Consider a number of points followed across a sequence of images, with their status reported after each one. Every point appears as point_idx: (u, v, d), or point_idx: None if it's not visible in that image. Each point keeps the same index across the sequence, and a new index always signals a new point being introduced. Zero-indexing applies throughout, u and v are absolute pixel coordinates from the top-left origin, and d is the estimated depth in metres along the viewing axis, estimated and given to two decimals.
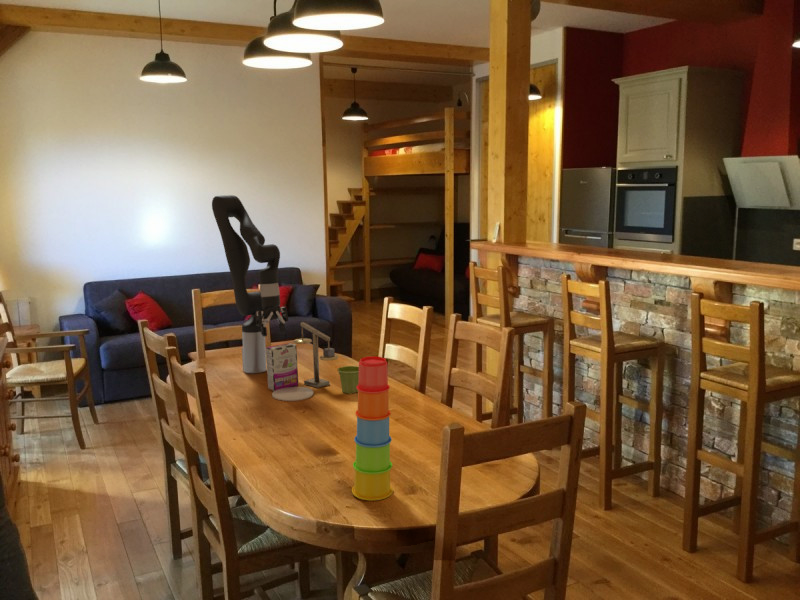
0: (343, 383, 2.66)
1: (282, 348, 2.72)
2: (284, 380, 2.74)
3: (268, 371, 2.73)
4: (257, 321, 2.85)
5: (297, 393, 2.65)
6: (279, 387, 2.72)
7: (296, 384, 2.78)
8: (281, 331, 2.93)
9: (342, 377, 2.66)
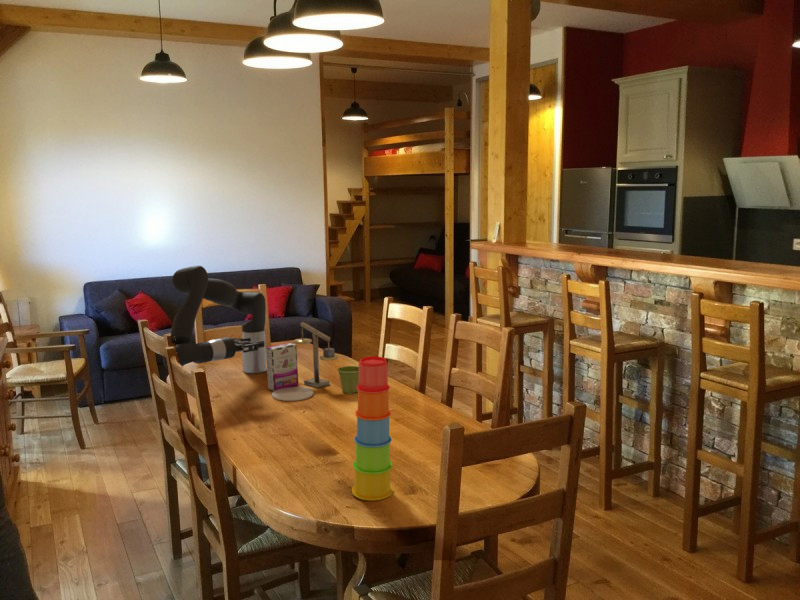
0: (343, 383, 2.66)
1: (282, 348, 2.72)
2: (284, 380, 2.74)
3: (268, 371, 2.73)
4: None
5: (297, 393, 2.65)
6: (279, 387, 2.72)
7: (296, 384, 2.78)
8: None
9: (342, 377, 2.66)
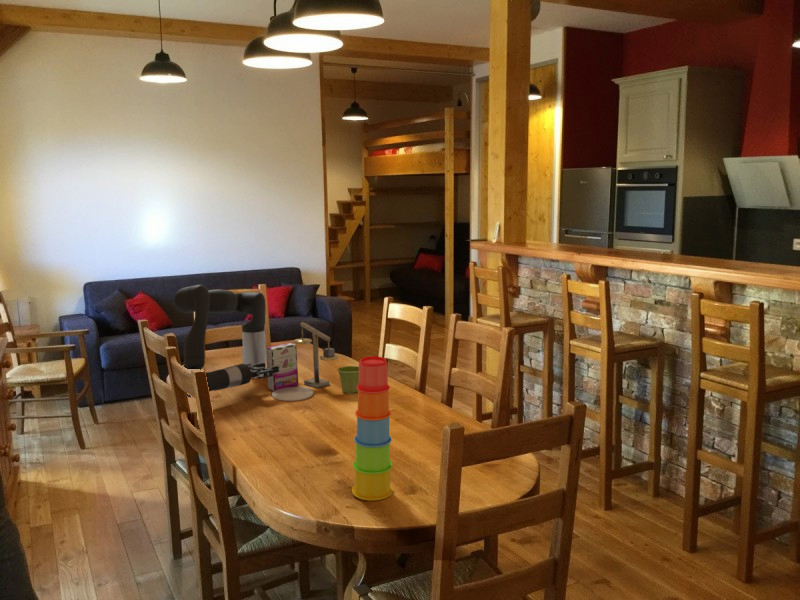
0: (343, 383, 2.66)
1: (282, 348, 2.72)
2: (284, 380, 2.74)
3: None
4: None
5: (297, 393, 2.65)
6: (279, 387, 2.72)
7: (296, 384, 2.78)
8: None
9: (342, 377, 2.66)
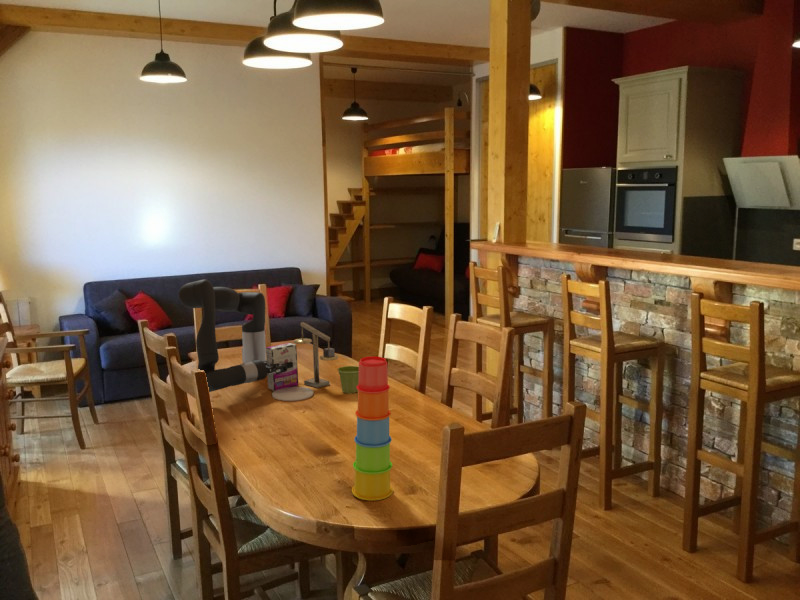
0: (343, 383, 2.66)
1: (282, 348, 2.72)
2: (284, 380, 2.74)
3: None
4: None
5: (297, 393, 2.65)
6: (279, 387, 2.72)
7: (296, 384, 2.78)
8: None
9: (342, 377, 2.66)
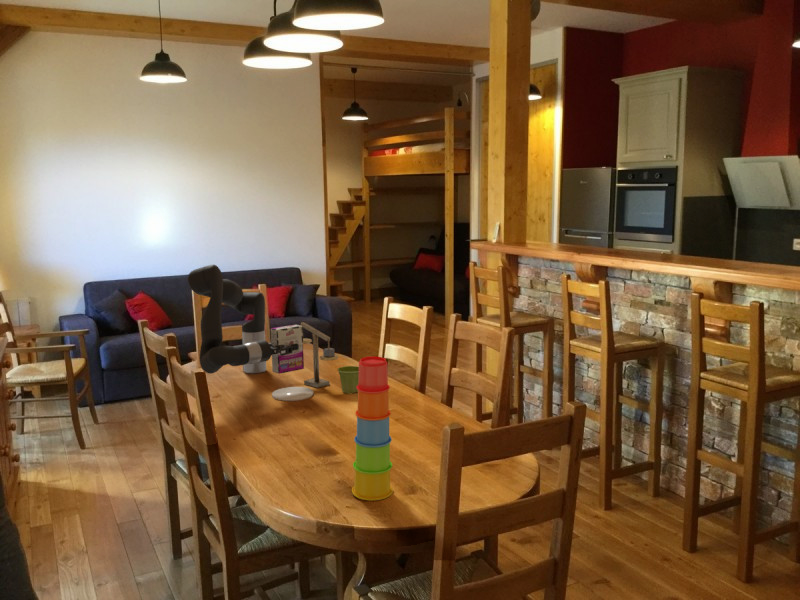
0: (343, 383, 2.66)
1: (287, 329, 2.62)
2: (289, 362, 2.64)
3: None
4: None
5: (297, 393, 2.65)
6: (284, 370, 2.62)
7: (301, 367, 2.67)
8: None
9: (342, 377, 2.66)
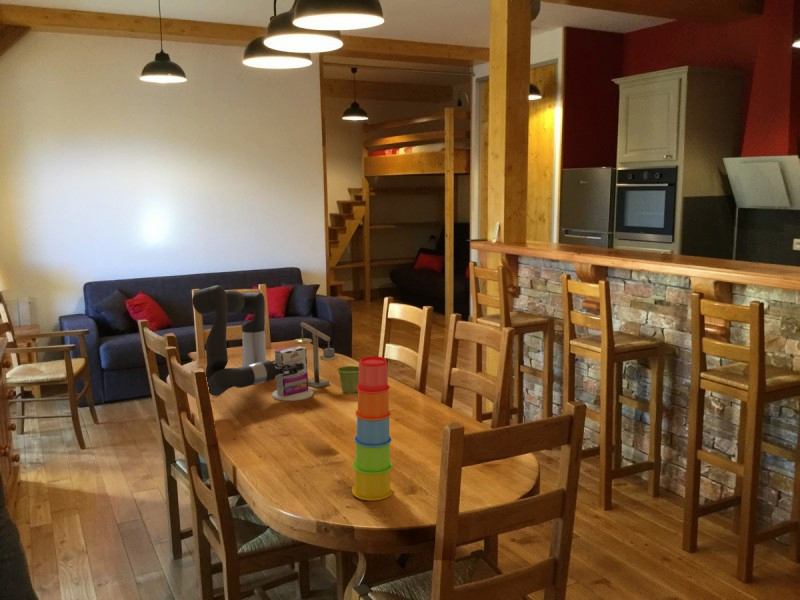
0: (343, 383, 2.66)
1: (292, 351, 2.61)
2: (294, 384, 2.63)
3: (277, 375, 2.62)
4: None
5: (297, 393, 2.65)
6: (289, 392, 2.62)
7: (306, 389, 2.67)
8: None
9: (342, 377, 2.66)
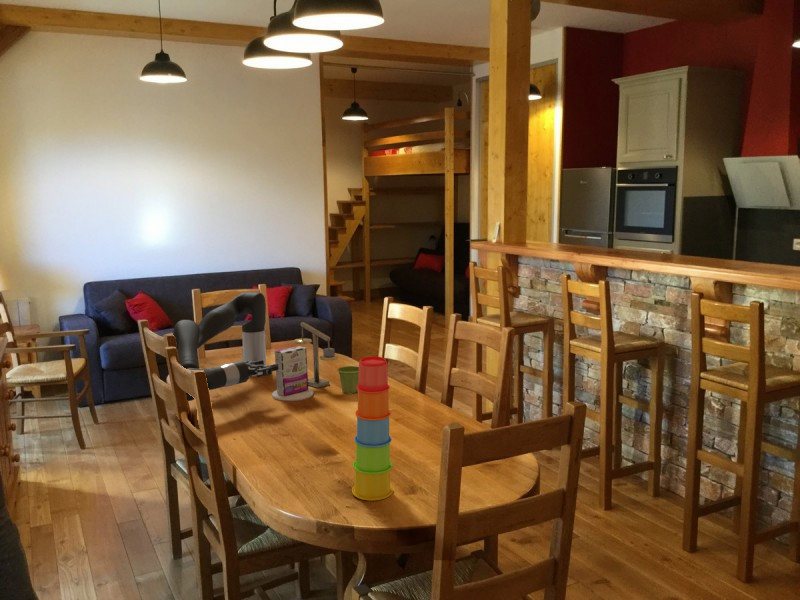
0: (343, 383, 2.66)
1: (292, 351, 2.61)
2: (294, 385, 2.63)
3: (277, 375, 2.62)
4: None
5: (297, 393, 2.65)
6: (289, 392, 2.62)
7: (306, 389, 2.67)
8: None
9: (342, 377, 2.66)
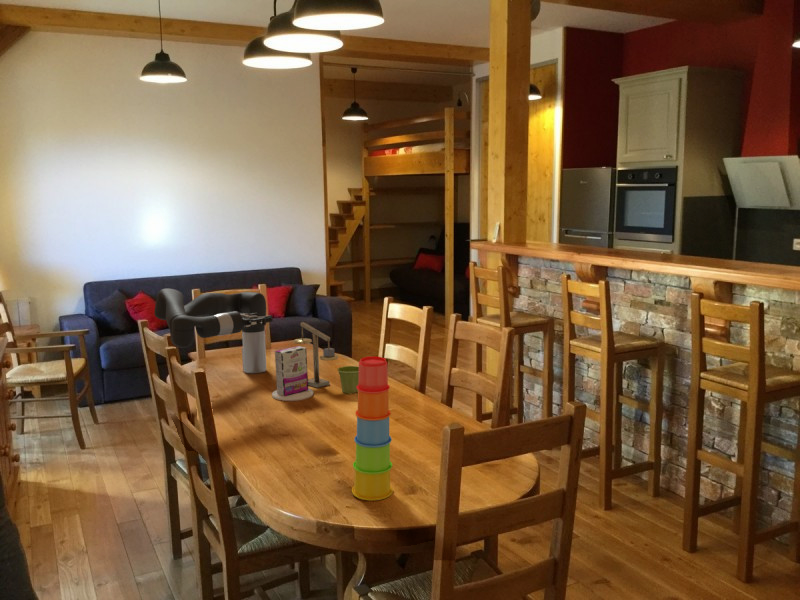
0: (343, 383, 2.66)
1: (292, 351, 2.61)
2: (294, 385, 2.63)
3: (277, 375, 2.62)
4: None
5: (297, 393, 2.65)
6: (289, 392, 2.62)
7: (306, 389, 2.67)
8: None
9: (342, 377, 2.66)
